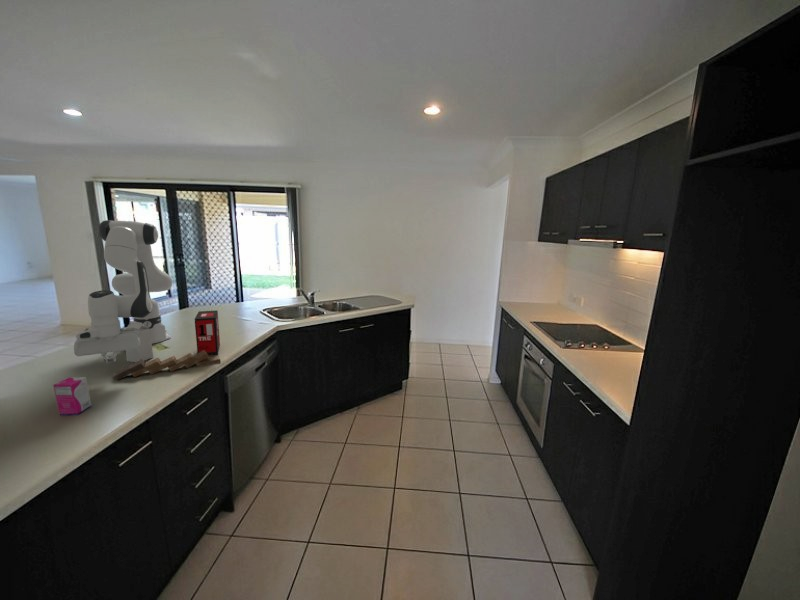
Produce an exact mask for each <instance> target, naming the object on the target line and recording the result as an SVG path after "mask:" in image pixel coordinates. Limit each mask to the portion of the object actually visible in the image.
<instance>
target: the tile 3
mask: <svg viewBox="0 0 800 600" xmlns="http://www.w3.org/2000/svg"><path fill="white" fill-rule="evenodd" d="M177 359H178V358H176V356H175V355H172V356H170V357H168V358H165V359H163V360H160V361H161V363H160V365H159V366H157V367H155V368H153V369H151V370H149V371H148V372H149V374H150V375H153V374H156V373H158V372H161V371H162V370H165V369H166V368H168V367H169V366H171V365H173V364H176V360H177Z"/></svg>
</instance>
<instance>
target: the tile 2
mask: <svg viewBox="0 0 800 600" xmlns="http://www.w3.org/2000/svg"><path fill="white" fill-rule="evenodd" d="M161 361H162V360H160V358H159V357H156V358H154V359H152V360H149V361H147V362H145V366H144V368H142V369H139V370H137V371H135V372H133V373H131V374H130V375H132V377H133V378H136V377H138V376H140V375H142V374H143V375H144V374H145V373H146V372H149V370H151V369H153V368H155V367H157V366H159V365H160V363H161Z"/></svg>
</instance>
